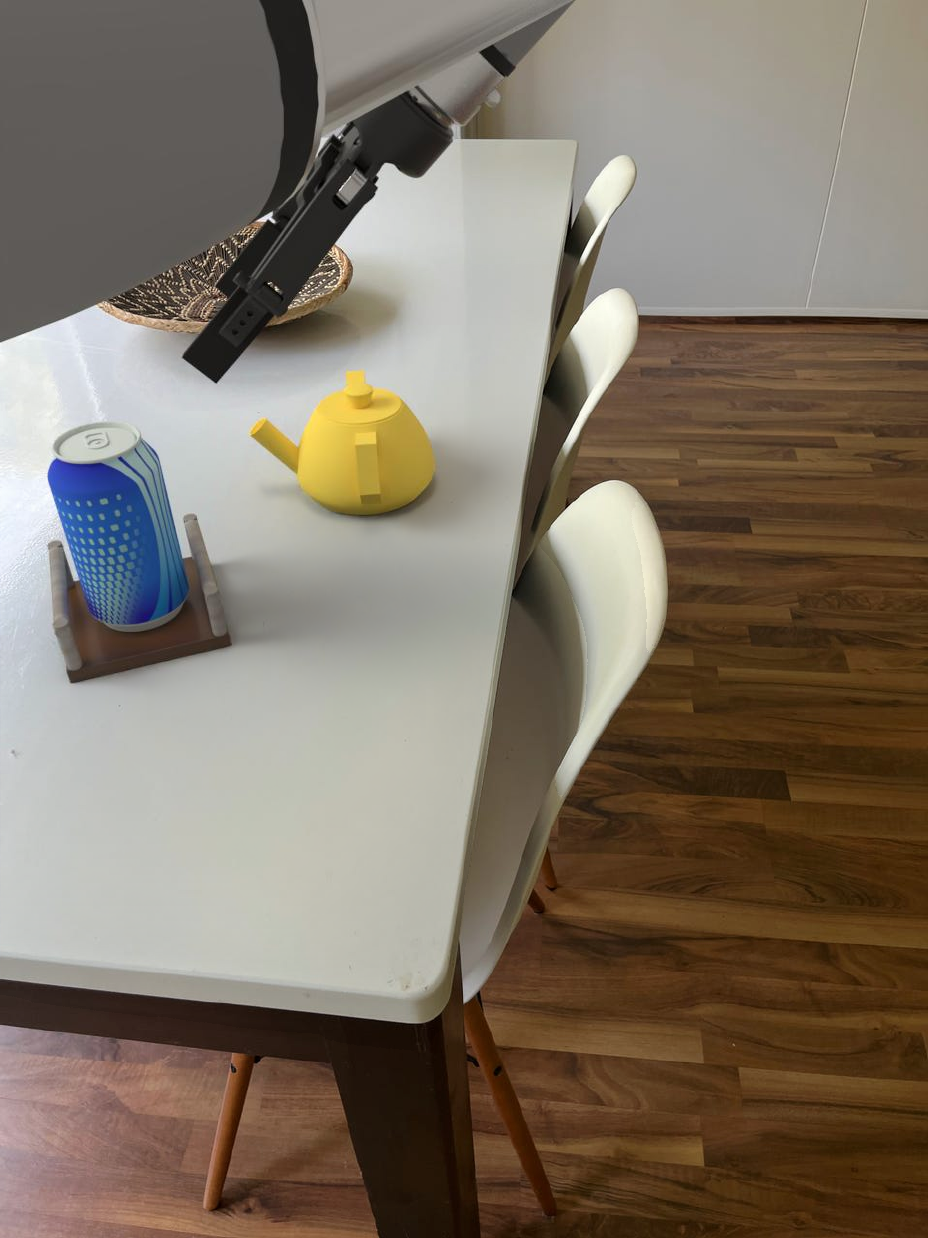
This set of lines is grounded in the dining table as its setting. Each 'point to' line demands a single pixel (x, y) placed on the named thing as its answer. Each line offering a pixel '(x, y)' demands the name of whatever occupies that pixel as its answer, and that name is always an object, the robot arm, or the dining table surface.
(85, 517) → the beer can
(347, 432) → the teapot
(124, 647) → the rail rack
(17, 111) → the robot arm
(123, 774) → the dining table surface
